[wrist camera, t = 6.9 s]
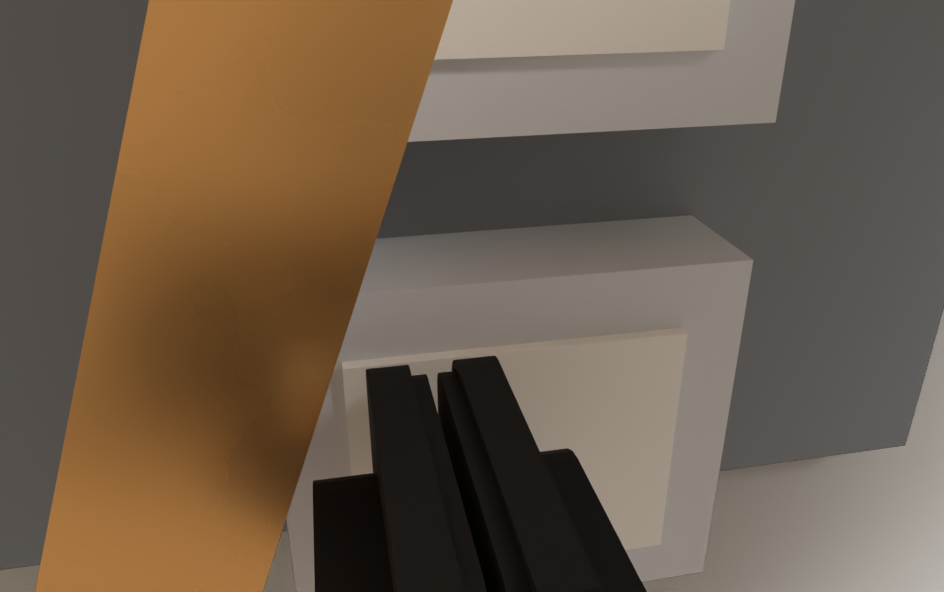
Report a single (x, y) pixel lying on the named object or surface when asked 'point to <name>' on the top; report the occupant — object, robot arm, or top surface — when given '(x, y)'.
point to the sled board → (557, 241)
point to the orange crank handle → (228, 281)
